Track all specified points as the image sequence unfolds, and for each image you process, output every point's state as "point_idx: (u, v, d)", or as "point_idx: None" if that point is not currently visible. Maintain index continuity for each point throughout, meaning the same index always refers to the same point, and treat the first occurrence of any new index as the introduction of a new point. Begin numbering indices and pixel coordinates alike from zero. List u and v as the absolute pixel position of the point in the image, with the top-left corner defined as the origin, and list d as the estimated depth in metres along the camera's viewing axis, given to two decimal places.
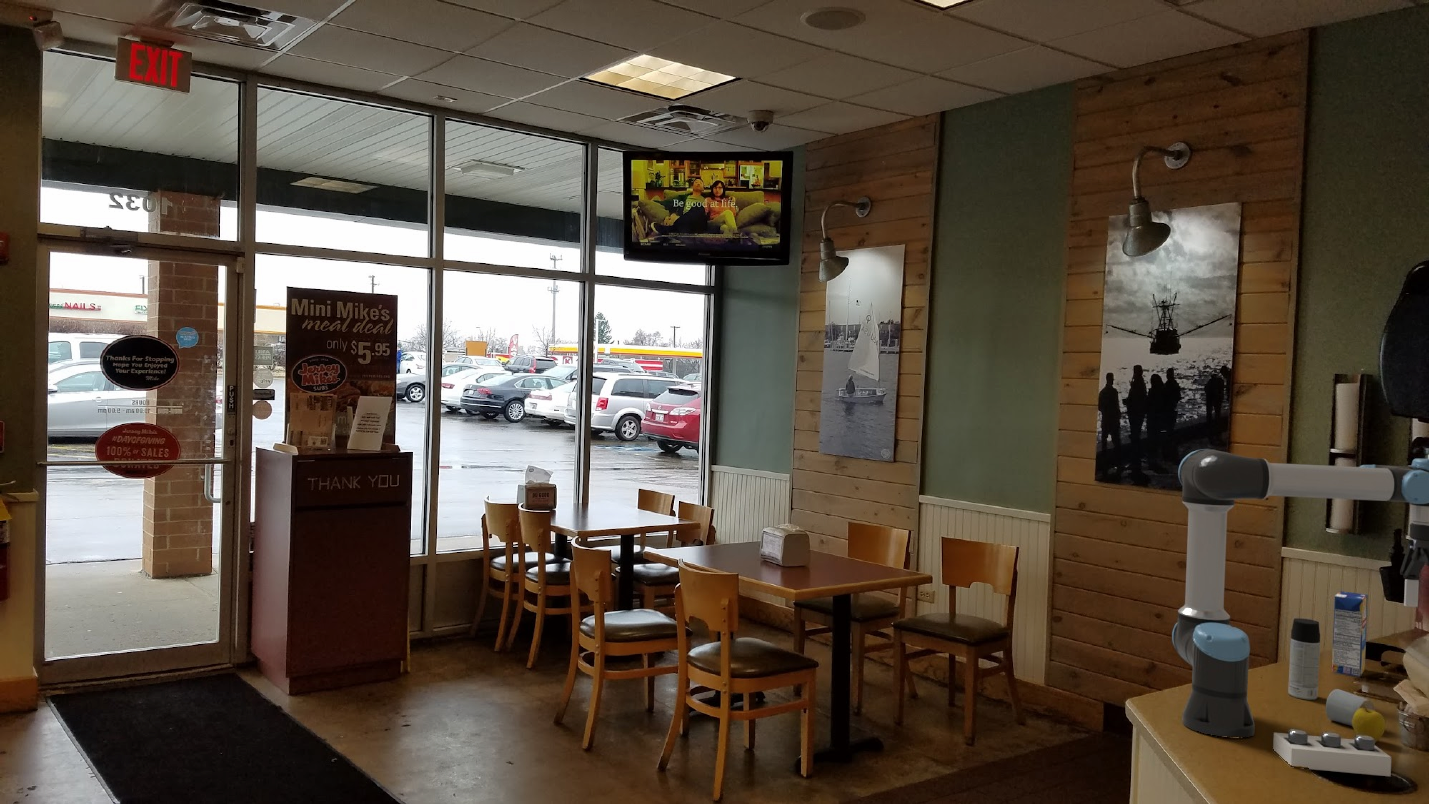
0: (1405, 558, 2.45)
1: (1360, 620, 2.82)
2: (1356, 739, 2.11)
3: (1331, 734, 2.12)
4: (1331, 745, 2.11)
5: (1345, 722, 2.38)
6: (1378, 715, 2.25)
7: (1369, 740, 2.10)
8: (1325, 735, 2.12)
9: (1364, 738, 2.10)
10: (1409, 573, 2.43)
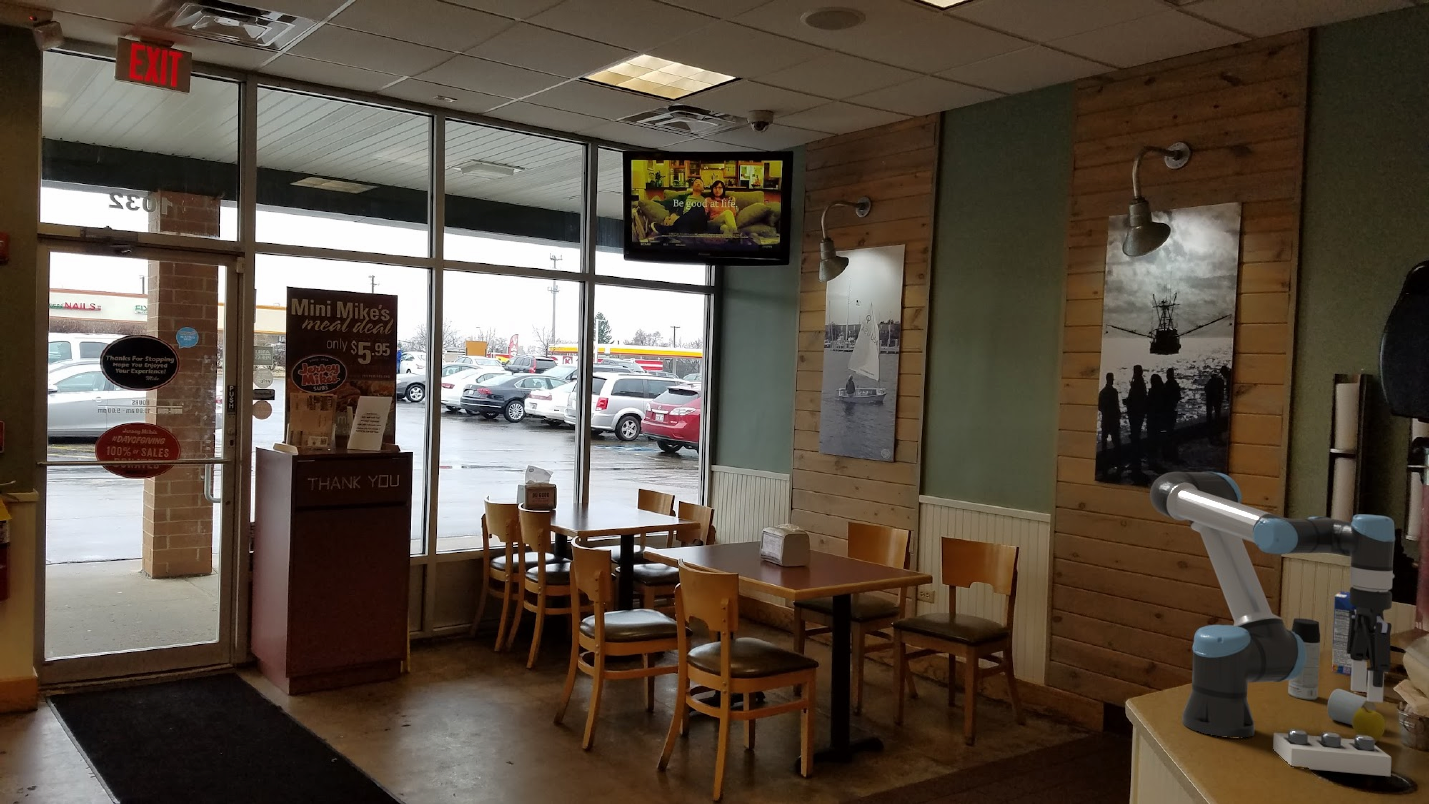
0: (1349, 632, 2.17)
1: None
2: (1356, 739, 2.11)
3: (1331, 734, 2.12)
4: (1331, 745, 2.11)
5: (1347, 722, 2.38)
6: (1378, 715, 2.25)
7: (1369, 740, 2.10)
8: (1325, 735, 2.12)
9: (1364, 738, 2.10)
10: (1355, 651, 2.15)
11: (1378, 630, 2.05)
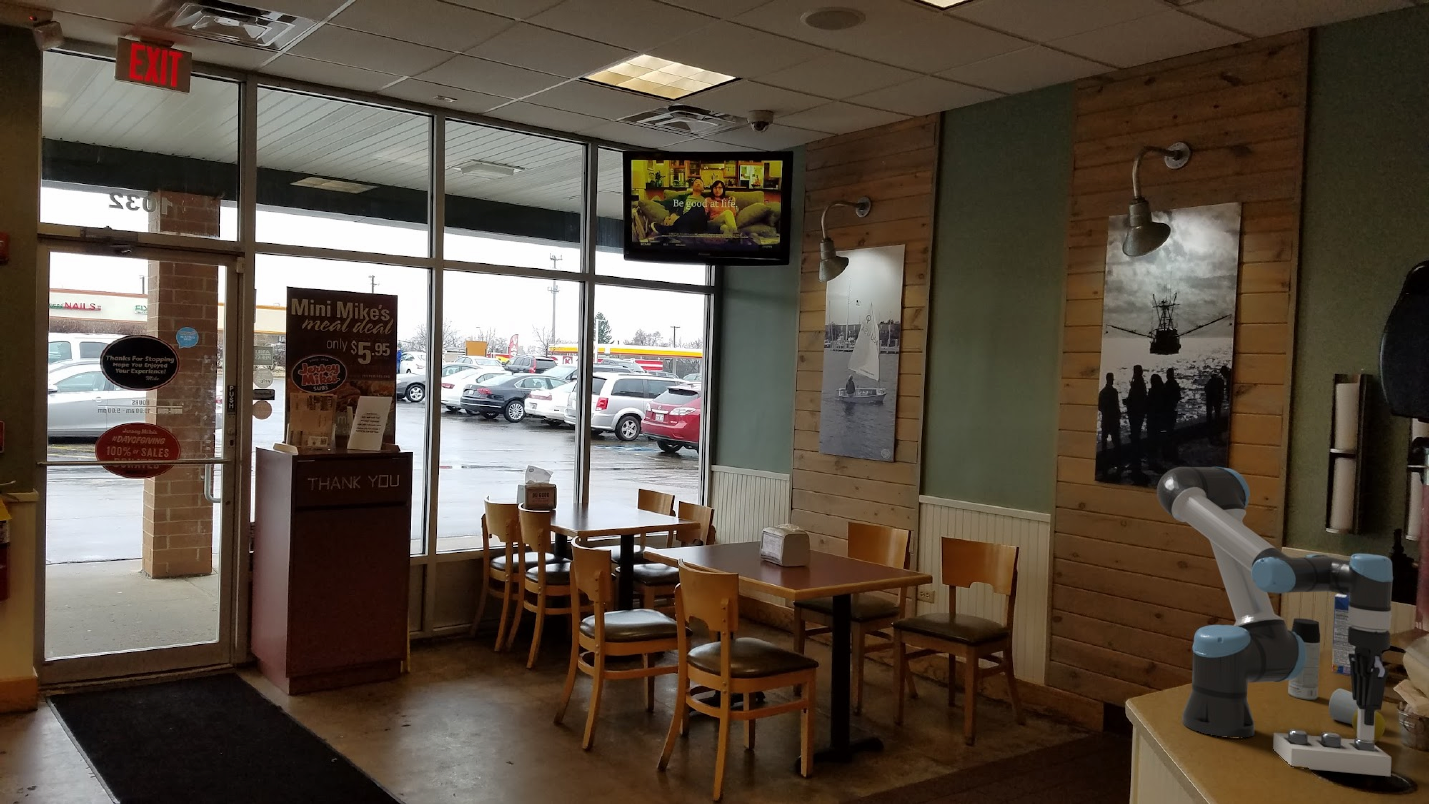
0: (1352, 677, 2.15)
1: None
2: (1356, 742, 2.11)
3: (1331, 734, 2.12)
4: (1331, 745, 2.11)
5: (1348, 721, 2.38)
6: (1378, 715, 2.25)
7: (1369, 743, 2.10)
8: (1325, 735, 2.12)
9: (1364, 741, 2.10)
10: (1360, 695, 2.12)
11: (1375, 675, 2.06)
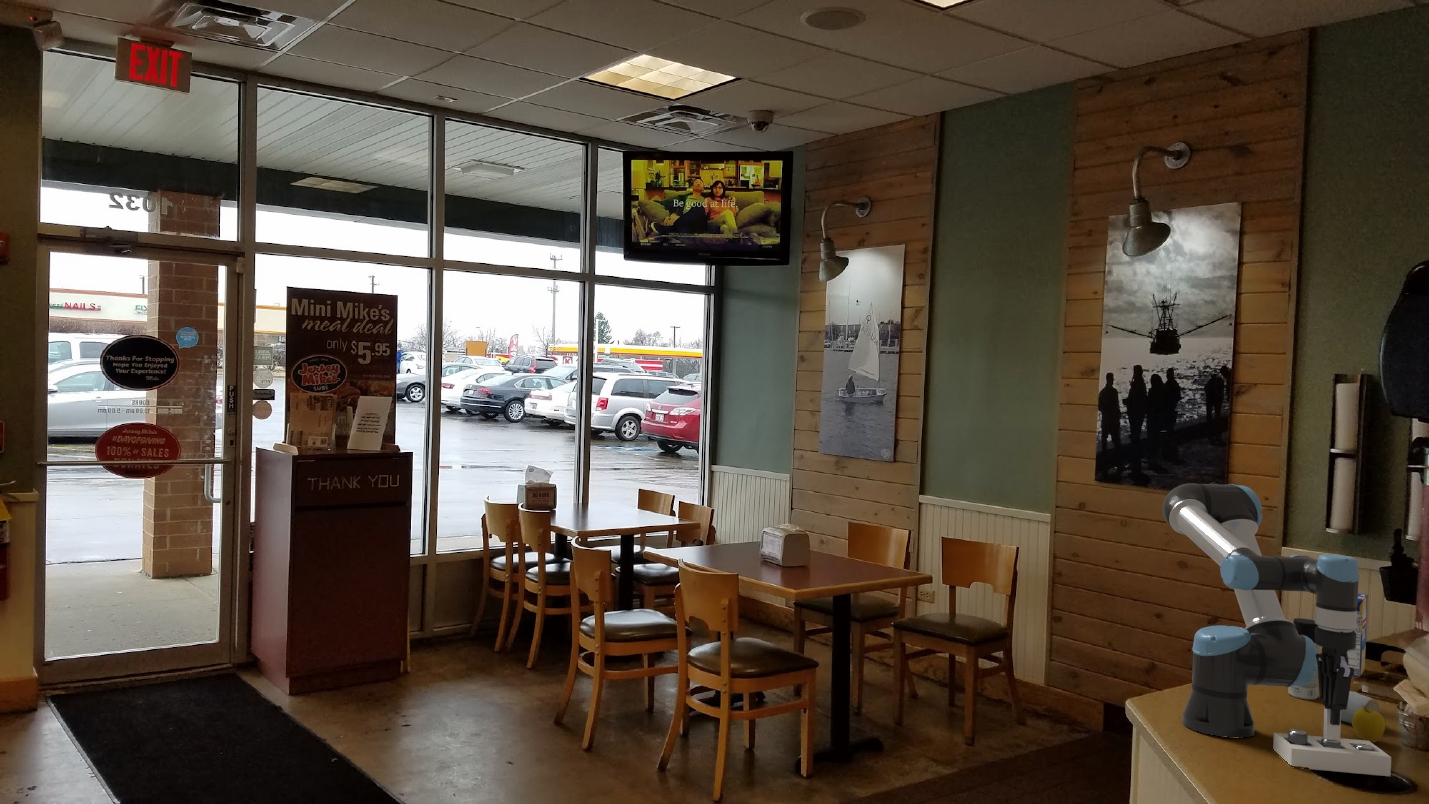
0: (1319, 677, 2.16)
1: (1360, 620, 2.82)
2: (1356, 748, 2.11)
3: (1331, 739, 2.12)
4: None
5: (1350, 721, 2.38)
6: (1378, 715, 2.25)
7: (1369, 749, 2.10)
8: (1325, 740, 2.12)
9: (1364, 747, 2.10)
10: (1327, 695, 2.13)
11: (1340, 675, 2.07)
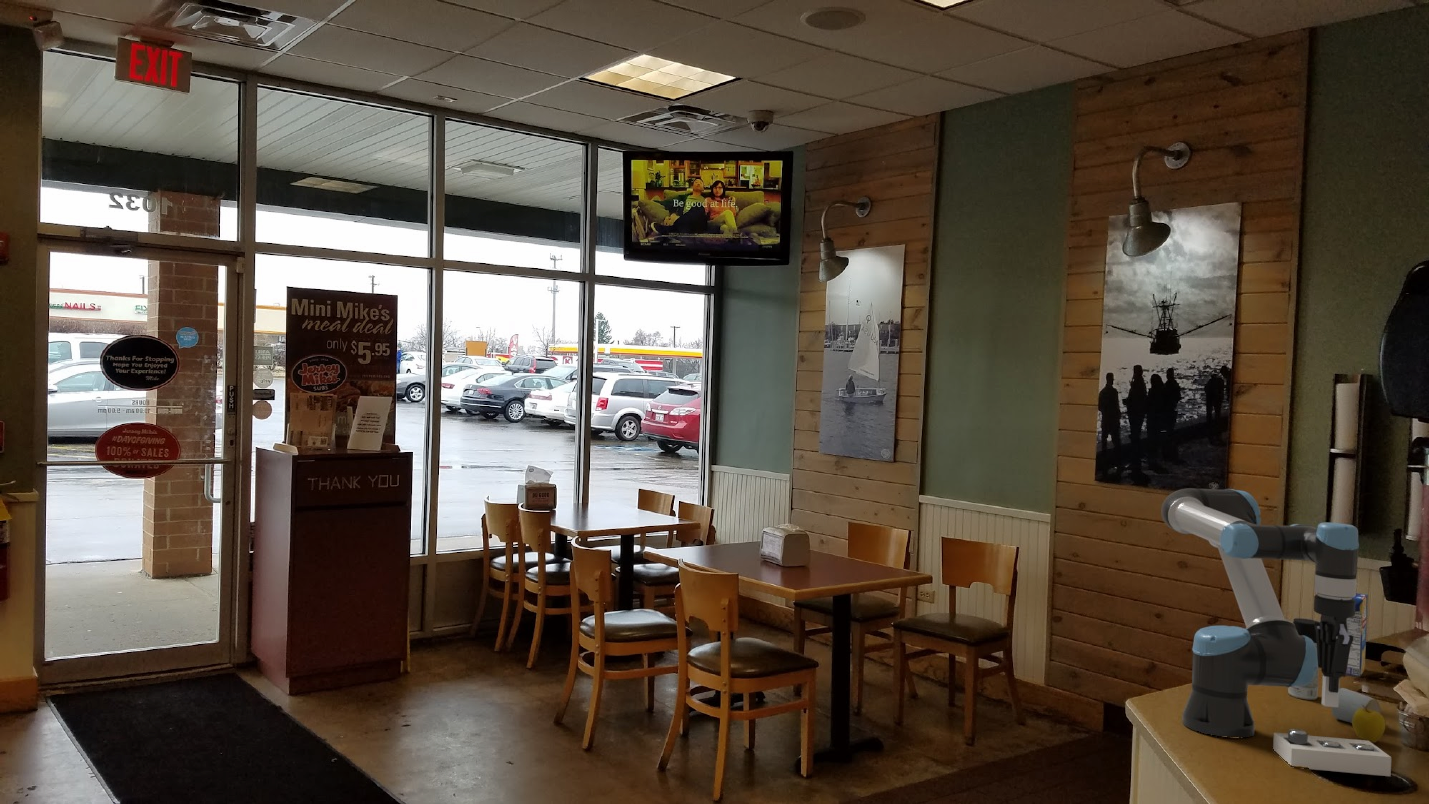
0: (1317, 645, 2.17)
1: (1360, 620, 2.82)
2: (1356, 748, 2.11)
3: (1331, 743, 2.12)
4: None
5: (1351, 721, 2.39)
6: (1378, 715, 2.25)
7: (1369, 749, 2.10)
8: (1325, 744, 2.12)
9: (1364, 747, 2.10)
10: (1325, 662, 2.13)
11: (1339, 642, 2.07)
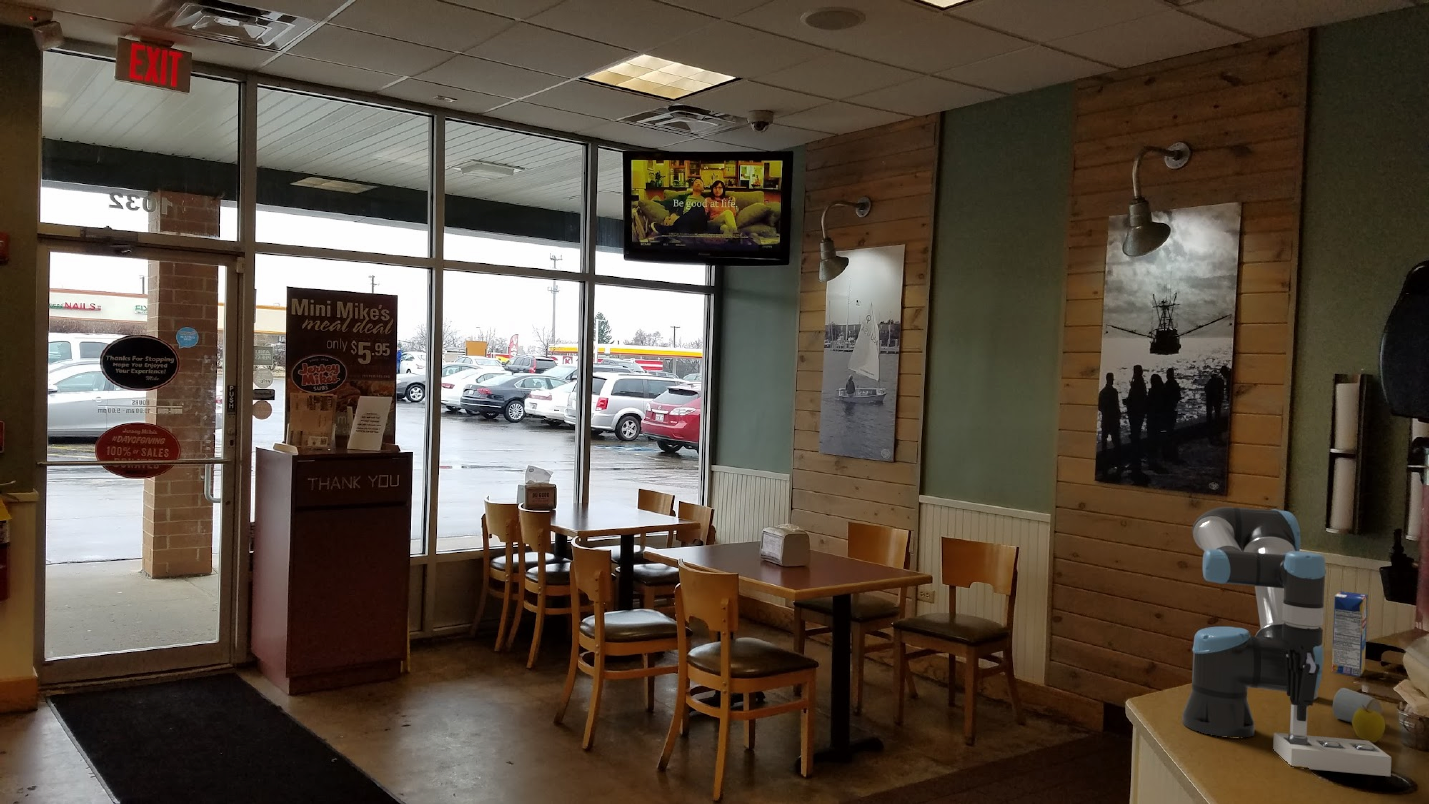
0: (1286, 673, 2.17)
1: (1360, 620, 2.82)
2: (1356, 748, 2.11)
3: (1331, 743, 2.12)
4: None
5: None
6: (1378, 715, 2.25)
7: (1369, 749, 2.10)
8: (1325, 744, 2.12)
9: (1364, 747, 2.10)
10: (1293, 691, 2.14)
11: (1306, 671, 2.08)
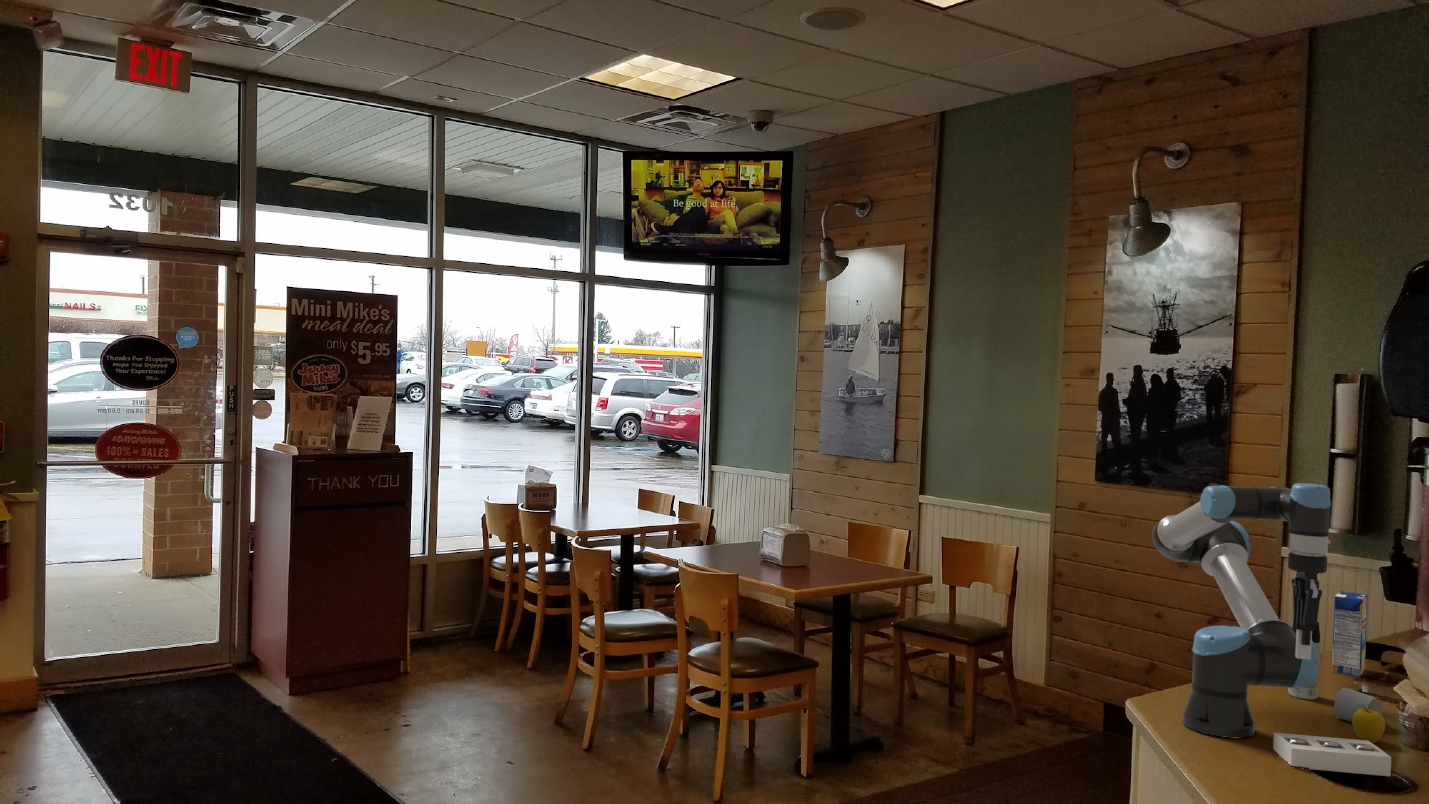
0: (1293, 601, 2.26)
1: (1360, 620, 2.82)
2: (1356, 748, 2.11)
3: (1331, 743, 2.12)
4: None
5: None
6: (1378, 715, 2.25)
7: (1369, 749, 2.10)
8: (1325, 744, 2.12)
9: (1364, 747, 2.10)
10: (1299, 617, 2.23)
11: (1308, 596, 2.17)
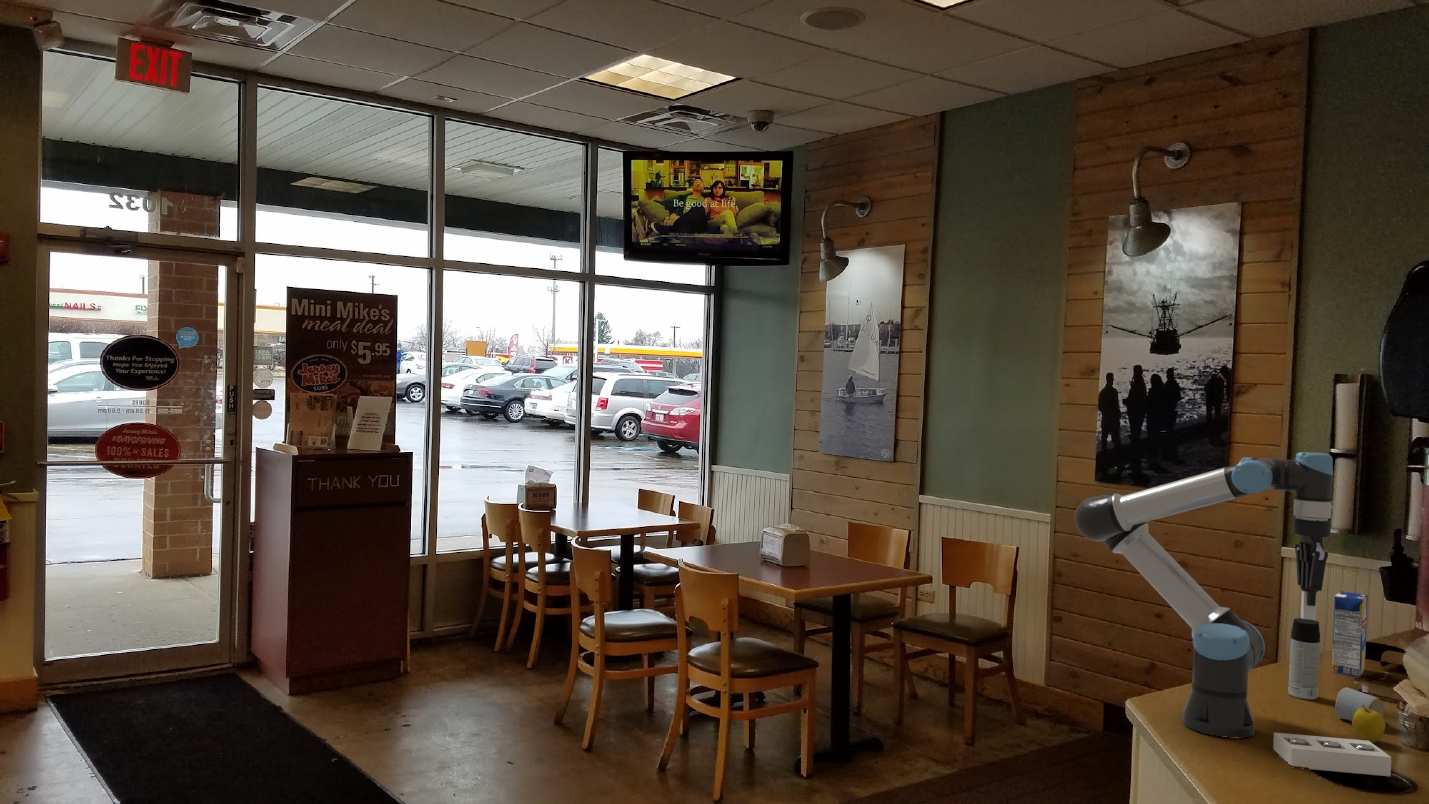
0: (1297, 564, 2.37)
1: (1360, 620, 2.82)
2: (1356, 748, 2.11)
3: (1331, 743, 2.12)
4: None
5: None
6: (1378, 715, 2.25)
7: (1369, 749, 2.10)
8: (1325, 744, 2.12)
9: (1364, 747, 2.10)
10: (1304, 579, 2.34)
11: (1315, 558, 2.28)
